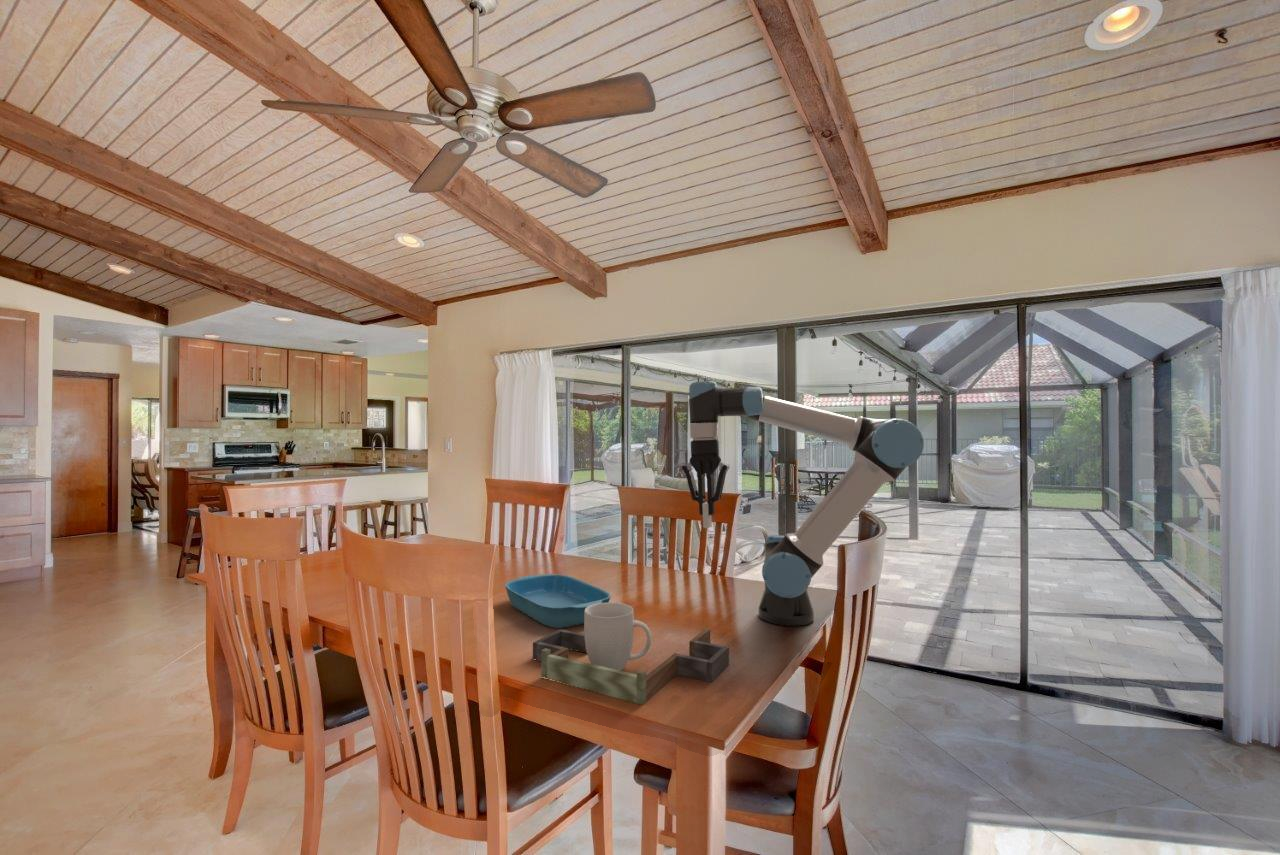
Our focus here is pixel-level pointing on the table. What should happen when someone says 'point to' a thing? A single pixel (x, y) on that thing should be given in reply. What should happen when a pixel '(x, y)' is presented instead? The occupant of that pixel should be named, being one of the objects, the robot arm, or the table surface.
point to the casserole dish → (554, 598)
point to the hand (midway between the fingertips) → (707, 527)
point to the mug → (611, 634)
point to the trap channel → (619, 684)
